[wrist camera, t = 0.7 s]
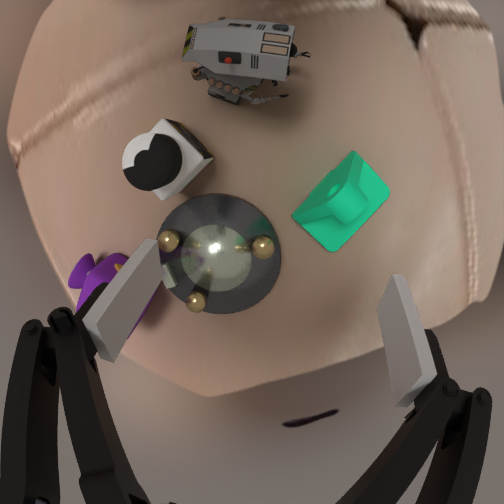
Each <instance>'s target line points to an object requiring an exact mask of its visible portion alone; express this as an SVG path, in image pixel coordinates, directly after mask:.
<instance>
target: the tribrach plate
mask: <svg viewBox="0 0 504 504" xmlns="http://www.w3.org/2000/svg"><path fill="white" fill-rule="evenodd" d="M157 240H158V248H159V256H160V263H161V270H162V277H163V279H162V281H163V283H164V285H165V287H166V289H168V288H169V289H170V290H171V291H172V292H173V293H174V295H176V296H177V297H178V298H179V299H180V300H182V301H183V302H184V303H186V306H187V308H188V309H189V310H190V311H192V312H195V313H198V312H201V311H204V312H208V313H214V314H229V313H235V312H239V311H242V310H245V309H248V308H250V307H252V306H253V305H255V304H256V303H258V302H259V301H260V300H262V299H263V298H264V297H265V296H266V295H267V294H268V293H269V291H270V290H271V288H272V287H273V285H274V283H275V281H276V279H277V276H278V273H279V269H280V260H281V255H280V246H279V241H278V237H277V235H276V232H275V230H274V228H273V226H272V224H271V223H270V221H269V220H268V219H267V217H266V216H265V215H264V214H263V213H262V212H261V211H260V210H259V209H258V208H257V207H255V206H254V205H253V204H251V203H249V202H247V201H246V200H244V199H241V198H239V197H236V196H232V195H229V194H221V193H210V194H204V195H200V196H197V197H194V198H192V199H189V200H187V201H186V202H184V203H183V204H181V205H180V206H178V207H177V208H176V209H175V210H173V211H172V212H171V213H170V214H169V216H168V217H167V218H166V219H165V221H164V223H163V224H162V226H161V228H160V231H159V233H158V237H157Z"/></svg>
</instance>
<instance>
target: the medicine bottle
mask: <svg viewBox="0 0 504 504" xmlns="http://www.w3.org/2000/svg"><path fill="white" fill-rule="evenodd" d="M213 158H214V156H213V155H212V154H211V152H210V151H209V150H208V149H207V148H206V147H205V146H204V145H203V144H202V143H201V142H200V141H199V140H198V139H197V138H196V137H195V136H194V135H193V134H192V133H191V132H190V131H189V130H188V129H186V128H185V127H184V126H183V125H182V124H181V123H180V122H176V121H172V120H168V119H164V118H163V119H161V120H160V121H159V122H158V123H157V124H156V125H155V126H154V128H153V129H152V130H151V131H150V132H149V133H143V134H140V135H138V136H136V137H135V138H134V139H132V140H131V141H130V142H129V144H128V145H127V147H126V149H125V151H124V154H123V158H122V167H123V172H124V174H125V177H126V178H127V180H128V181H129V182H130V183H131V184H132V185H133V186H134V187H136V188H138V189H140V190H145V191H151V190H152V191H153V192H154V193H155V194H156V195H157V196H158V197H159V198H160V199H161V200H162V201H164V200H166V199H168V198H170V197H172V196H174V195H175V194H177V193H179V192H181V191H182V190H183V189H184V188H185V187H186V185H187V184H188V183H189V182H190V181H191V180H192V179H193V178H194V177H195V176H196V175H197V174H198V173H199V172H200V171H201V170H202V169H203V168H204V167H205V166H206V165H207V164H208V163H209V162H210V161H211V160H212V159H213Z"/></svg>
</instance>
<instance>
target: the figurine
mask: <svg viewBox="0 0 504 504" xmlns="http://www.w3.org/2000/svg"><path fill="white" fill-rule="evenodd" d="M294 32H295V25H289V24H282V23H274V22H265V21H255V20H242V19H226V18H225V17H220V18H219V19H218V21H214V22H209V23H205V24H190V25H189V28H188V33H187V37H186V42H185V46H184V51H183V56H182V60H183V61H196V62H197V63H199V64H201V66H198V67H193V68H192V69H191V74H192V76H193V79H195V80H201V79H205V78H206V79H207V81H208V84H209V85H210V87H209V89H208V95H211V96H213V97H216V98H219V99H222V100H224V101H227V102H230V103H232V104H235V105H239V103H240V101H241V99H242V98H244V99H247V100H250V103H251V104H252V105H254V104H255V105H257V104H259V103H260V102H270V101H274V100H273V99H279V98H281V97H286V96H289V95H288V94H287V95H277V96H274V97H273V96H268V97H264V98H251V97H249V96H250V95H251V94H252V92H253V90H256V88H257V86H258V85H259V84H260V83H262V81H263V79H270V80H272V83H274V85H273V86H276V85H277V84H278V83H277V82H276V80H277V81H284V82H286V79H287V75H288V76H289V73H290V70H289V62H290V57H294V58H296V57H297V56H305V57H309V58H310V56H311V55H310V56H307V55H304V54H306V53H308V52H303V53H298V52H297V47H296V45H295V44H293V39H294ZM308 54H310V53H308ZM274 80H275V81H274Z"/></svg>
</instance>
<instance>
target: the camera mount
mask: <svg viewBox="0 0 504 504" xmlns="http://www.w3.org/2000/svg"><path fill="white" fill-rule="evenodd" d="M389 194H390V190H389V188H388V186H387V185H386V184H385V183H384V182H383V181H382V180H381V178H380V177H379V176H378V175H377V174H376V173H375V172H374V171H373V170H372V168H371V167H370V166H369V165H368V164H367V163H366V162H365V161H364V160H363V159H362V158H361V157H360V156H359V155H358V154H357V152H356V151H351V152H350V154H349V155H348V156H347V157H346V158H345V159H344V160H343V161H342V162H341V163H340V164H339V165H338V166H337V167H336V168H335V169H334V170H332V171H331V172H330V173H329V174H328V175H327V176H326V177H325V178H324V179H323V180H322V181H321V182H320V183H319V184H318V185H317V186H316V187H315V189H314V190H313V191H312V192H311V193H310V194H309V195H310V196H309V197H308V198H307V199H306V200H305V201H304V202H303V203H302V204H301V205H300V206H299V207H298V209H297V210H296V211H295V212H294V213H293V214H292V217H293V218H294V219H295V220H296V221H297V222H298V223H299V224H300V225H301V226H302V227H303V228H305V229H306V230H307V231H308V232H309V233H310V234H311V235H312V236H313V237H314V238H315V239H316V240H317V241H319V242H320V243H321V244H322V245H323V246H324V247H325V248H326V249H327V250H328V251H331V252H334V251H337V250H338V249H339V248H340V247H341V246H342V245H343V244H344V243H345V242H346V241H347V240H348V239H349V238H350V237H351V236H352V235H353V234H354V233H355V232H356V231H357V230H358V229H359V228H360V227H361V226H362V225H363V224H364V222H365V221H366V220H367V219H368V218H369V217H370V216H371V215H372V214H373V213H374V212H375V211H376V210H377V209H378V208H379V207H380V206H381V205H382V203H383V202H384V201H385V200H386V199H387V198H388V197H389Z"/></svg>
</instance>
